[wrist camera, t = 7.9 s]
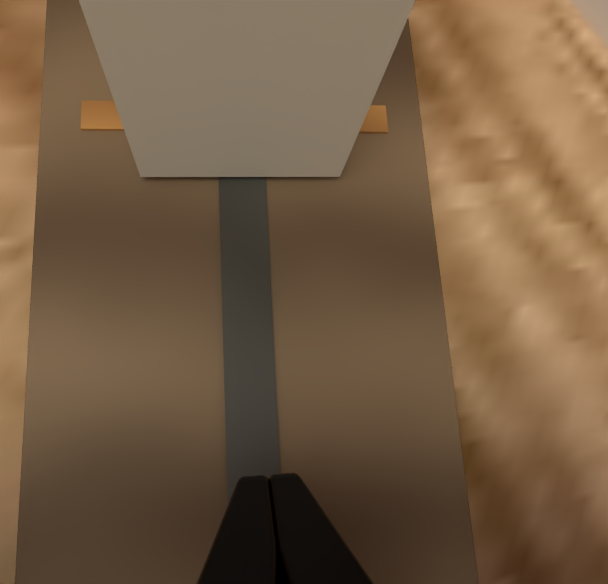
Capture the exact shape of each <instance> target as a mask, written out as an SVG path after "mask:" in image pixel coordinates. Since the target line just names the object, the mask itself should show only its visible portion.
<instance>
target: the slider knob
mask: <svg viewBox="0 0 608 584" xmlns="http://www.w3.org/2000/svg"><path fill="white" fill-rule="evenodd" d="M79 2H80V5H81V8H82V11H83V14H84V16H85V19H86V22H87V25H88V28H89V31H90V34H91V36H92V39H93V42H94V45H95V48H96V51H97V54H98V56H99V59H100V62H101V65H102V68H103V71H104V74H105V77H106V79H107V82H108V85H109V88H110V91H111V94H112V97H113V99H114V102H115V105H116V108H117V111H118V114H119V117H120V120H121V122H122V125H123V128H124V131H125V134H126V137H127V140H128V142H129V145H130V148H131V151H132V154H133V157H134V160H135V163H136V165H137V168H138V171H139V174H140V177H340V175H341V173H342V171H343V168H344V166H345V164H346V161H347V159H348V157H349V154H350V152H351V150H352V147H353V145H354V143H355V140H356V138H357V136H358V133H359V131H360V129H361V126H362V124H363V122H364V119H365V117H366V115H367V112H368V110H369V108H370V105H371V103H372V101H373V98H374V96H375V94H376V91H377V89H378V87H379V84H380V82H381V80H382V77H383V75H384V73H385V70H386V68H387V66H388V63H389V61H390V59H391V56H392V54H393V52H394V49H395V47H396V45H397V42H398V40H399V38H400V35H401V33H402V31H403V28H404V26H405V24H406V21H407V19H408V17H409V14H410V12H411V10H412V7H413V5H414V3H415V0H79Z"/></svg>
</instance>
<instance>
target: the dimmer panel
mask: <svg viewBox="0 0 608 584" xmlns="http://www.w3.org/2000/svg"><path fill="white" fill-rule="evenodd" d="M280 473H297V474H298V475H299V476H300V477H301V478H302V480H303V481H304V483H305V484H306V485H307V487H308V488H309V490H310V491H311V493H312V494H313V496H314V497H315V498H316V500H317V501H318V503H319V504H320V506H321V507H322V509H323V510H324V511H325V513H326V514H327V516H328V517H329V519H330V520H331V522H332V523H333V524H334V526H335V527H336V529H337V530H338V532H339V533H340V535H341V536H342V538H343V539H344V540H345V542H346V543H347V545H348V546H349V548H350V549H351V551H352V552H353V553H354V555H355V556H356V558H357V559H358V561H359V562H360V564H361V565H362V566H363V568H364V569H365V571H366V572H367V574H368V575H369V577H370V578H371V579H372V581H373V582H374V584H478V576H477V568H476V560H475V552H474V544H473V536H472V528H471V520H470V511H469V503H468V495H467V487H466V479H465V471H464V463H463V455H462V447H461V439H460V431H459V423H458V415H457V407H456V399H455V391H454V383H453V375H452V367H451V359H450V351H449V343H448V335H447V327H446V318H445V310H444V302H443V294H442V286H441V278H440V270H439V262H438V254H437V246H436V238H435V230H434V222H433V214H432V206H431V198H430V190H429V182H428V174H427V166H426V158H425V150H424V142H423V134H422V125H421V117H420V109H419V101H418V93H417V85H416V77H415V69H414V61H413V53H412V45H411V37H410V29H409V21H408V19H407V21H406V24H405V26H404V28H403V31H402V33H401V35H400V38H399V40H398V42H397V45H396V47H395V49H394V52H393V54H392V56H391V59H390V61H389V63H388V66H387V68H386V70H385V73H384V75H383V77H382V80H381V82H380V84H379V87H378V89H377V91H376V94H375V96H374V98H373V101H372V103H371V105H370V108H369V110H368V112H367V115H366V117H365V119H364V122H363V124H362V126H361V129H360V131H359V133H358V136H357V138H356V140H355V143H354V145H353V147H352V150H351V152H350V154H349V157H348V159H347V161H346V164H345V166H344V168H343V171H342V173H341V175H340V177H140V174H139V171H138V168H137V165H136V163H135V160H134V157H133V154H132V151H131V148H130V145H129V142H128V140H127V137H126V134H125V131H124V128H123V125H122V122H121V120H120V117H119V114H118V111H117V108H116V105H115V102H114V99H113V97H112V94H111V91H110V88H109V85H108V82H107V79H106V77H105V74H104V71H103V68H102V65H101V62H100V59H99V56H98V54H97V51H96V48H95V45H94V42H93V39H92V36H91V34H90V31H89V28H88V25H87V22H86V19H85V16H84V14H83V11H82V8H81V5H80V2H79V0H47V11H46V29H45V47H44V65H43V84H42V102H41V120H40V138H39V156H38V174H37V193H36V211H35V229H34V247H33V265H32V283H31V302H30V320H29V338H28V356H27V374H26V392H25V411H24V429H23V447H22V465H21V483H20V501H19V520H18V538H17V556H16V574H15V584H197V581H198V579H199V576H200V574H201V571H202V569H203V566H204V564H205V561H206V559H207V556H208V554H209V551H210V549H211V546H212V543H213V541H214V538H215V536H216V533H217V531H218V528H219V526H220V523H221V521H222V518H223V516H224V513H225V511H226V508H227V506H228V503H229V501H230V498H231V496H232V493H233V491H234V488H235V486H236V483H237V481H238V480H239V478H240V477H243V476H253V475H265V476H267V477H268V480H269V477H270V476H271V475H272V474H280Z"/></svg>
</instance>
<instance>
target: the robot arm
mask: <svg viewBox="0 0 608 584" xmlns="http://www.w3.org/2000/svg"><path fill="white" fill-rule="evenodd" d="M197 584H374V582H373V581H372V579H371V578H370V577H369V575H368V574H367V572H366V571H365V569H364V568H363V566H362V565H361V564H360V562H359V561H358V559H357V558H356V556H355V555H354V553H353V552H352V551H351V549H350V548H349V546H348V545H347V543H346V542H345V540H344V539H343V538H342V536H341V535H340V533H339V532H338V530H337V529H336V527H335V526H334V524H333V523H332V522H331V520H330V519H329V517H328V516H327V514H326V513H325V511H324V510H323V509H322V507H321V506H320V504H319V503H318V501H317V500H316V498H315V497H314V496H313V494H312V493H311V491H310V490H309V488H308V487H307V485H306V484H305V483H304V481H303V480H302V478H301V477H300V476H299V475H298V474H297V473H280V474H272V475H271V476H270V477H269V480H268V477H267V476H265V475H253V476H243V477H240V478H239V480H238V481H237V483H236V486H235V488H234V491H233V493H232V496H231V498H230V501H229V503H228V506H227V508H226V511H225V513H224V516H223V518H222V521H221V523H220V526H219V528H218V531H217V533H216V536H215V538H214V541H213V543H212V546H211V549H210V551H209V554H208V556H207V559H206V561H205V564H204V566H203V569H202V571H201V574H200V576H199V579H198V581H197Z"/></svg>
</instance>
